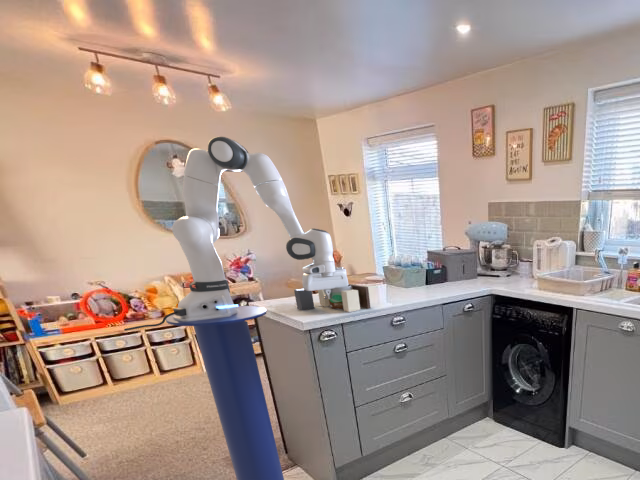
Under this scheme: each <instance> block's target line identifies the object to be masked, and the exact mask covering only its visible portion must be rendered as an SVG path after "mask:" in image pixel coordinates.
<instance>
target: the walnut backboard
mask: <svg viewBox="0 0 640 480" xmlns="http://www.w3.org/2000/svg"><path fill="white" fill-rule="evenodd" d="M348 284H349V285H348V286H352V289H353V290H358V295H359V303H360V308H362V309H367V310H369V309H371V299H370V292H369V290H370V289H369V286H365V285H359V284H353V283H348Z"/></svg>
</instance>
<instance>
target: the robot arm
mask: <svg viewBox="0 0 640 480" xmlns="http://www.w3.org/2000/svg"><path fill="white" fill-rule="evenodd" d="M223 172H229V173H230V172H231V173H232V172H233V173H242V172H244V173H245V174H246V175H247V176H248V178H249V180H250V181H251V183H252V186H253V188H254V189H255V191H256V194H257V195H258V196H259V198H260V199H261V201H262V203H264V206H266V207H267V208H269V209H270V210H272V211H273V212H274V213H275V214H276V215H277V217H278V218H279V219H280V221H281V223H282V225H283V227H284V229H285V230H286V232H287V234H288V236H289V239H288V241H287V242H286V245H285V249H286V252H287V254H288V255H289V256H290V257H291V258H293V259H294V260H297V261H305V260H310V259H311V260H312V263H311V264H308V265H305V266H302V268H301V270H302V273H303V274H302V276H301V282H302V289H305V290H306V291H312V292H313V291H318V290H323V292H324V293H325V294H326V295H324V299H332V296H331V295H330V293H331V289H334V288H341V287H348V285H349V284H350V283H349V279H348V274H347V269H346V268H345V267H343V266H336V264H335V258H334V254H333V253H334V246H333V240H332V237H331V234H330V233H329V232H328V231H327V230H324V229H320V228H310V229H309V230H308V231H305V230H304V229H303V226H302V225H301V223H300V221H299V219H298V217H297V215H296V213H295V211H294V209H293V206H292V202H291V199H290V195H289V192H288V191H287V190H288V189H287V187H286V184H285V182H284V180H283V178H282V176H281V174H280V172H279V170H278V168H277V167H276V165H275V164H274V161H272V159H271V158H270V157H269V156H268V155H267V154H266V153H262V152H252V153H250V152H249V151H248V149H246V148H245V146H243V145H242V144H241V143H239V142H238V141H237V140H235V139H231V138H229V137H226V136H215V137H212V138H211V139H210V140H209V141H208V144H207V149H203V148H192V149H190V150H189V151H188V154H187V157H186V161H185V165H184V171H183V182H182V194H181V195H182V200H183V204H184V209H185V216H181V217H179V218H178V219H176V220H175V221H174V222H173V224H172V227H171V231H172V232H171V233H172V234H173V236H174V238H175V239H176V240H177V241H178V242H179V246H180V247H181V249H182V252H183V253H184V255H185V257H186V260H187V263H188V266H189V269H190V271H191V272H190V273H191V276H192V279H193V281H192V282H185V283H184V287H186V289H187V288H188V289H189V290H190V292H188V293H187V294H186V295H185V296H184V297H183V298H181V300H180V301H179V302H178V305H177V307H176V308H175V307H174V308H173V309H172V310H173V312H170V313H168V314H166V315H165V316H164V317H163V318H162V321H160V322H159V323H158V322H157V323H153V324H142V325H138V326H131V327H127V328H123V330H124V332H127V331H132V330H137V329H141V328H149V327H159V326H161V325H163V324H164V323H165V322H166V318H167V317H169V316H171V315H174V314H175V315H174V316H173V319H174V320H177V321H182V322H189V321H198V320H206V319H214V318H222V317H230V316H232V315H233V314H236V313H238V311H237V309H236V307H238V306H239V304H235V303H234V301H233V298H232V296H231V291H230V284H229V282H228V279H226V275H225V271H224V267H223V263H222V259H221V258H220V257H219V255H218V252H217V251H216V248H215V246H214V243H216V242H217V240H218V239H219V238H220V234H221V233H220V228H219V227H220V226H219V213H218V212H219V211H218V210H219V209H218V205H219V204H218V203H219V193H220V184H221V183H220V182H221V175H222V173H223Z"/></svg>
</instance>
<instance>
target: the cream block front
mask: <svg viewBox="0 0 640 480" xmlns="http://www.w3.org/2000/svg"><path fill="white" fill-rule="evenodd" d="M341 294H342V301H343V308H344V309H343V311H344V312H347V313H350V312H351V313H352V312H356V311H357V312H358V311H361V307H360V303H359V295H358V290H353V289H352V290H345V291H341Z"/></svg>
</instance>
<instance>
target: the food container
mask: <svg viewBox="0 0 640 480" xmlns="http://www.w3.org/2000/svg"><path fill="white" fill-rule="evenodd" d="M345 290H352V286H348V287H341V288H334V289H331V293H330V295H331V296H332V299H328V300H329V303H330V306H329V307H330V309H333V310H344V308H343V301H342V294H341V291H345Z"/></svg>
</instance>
